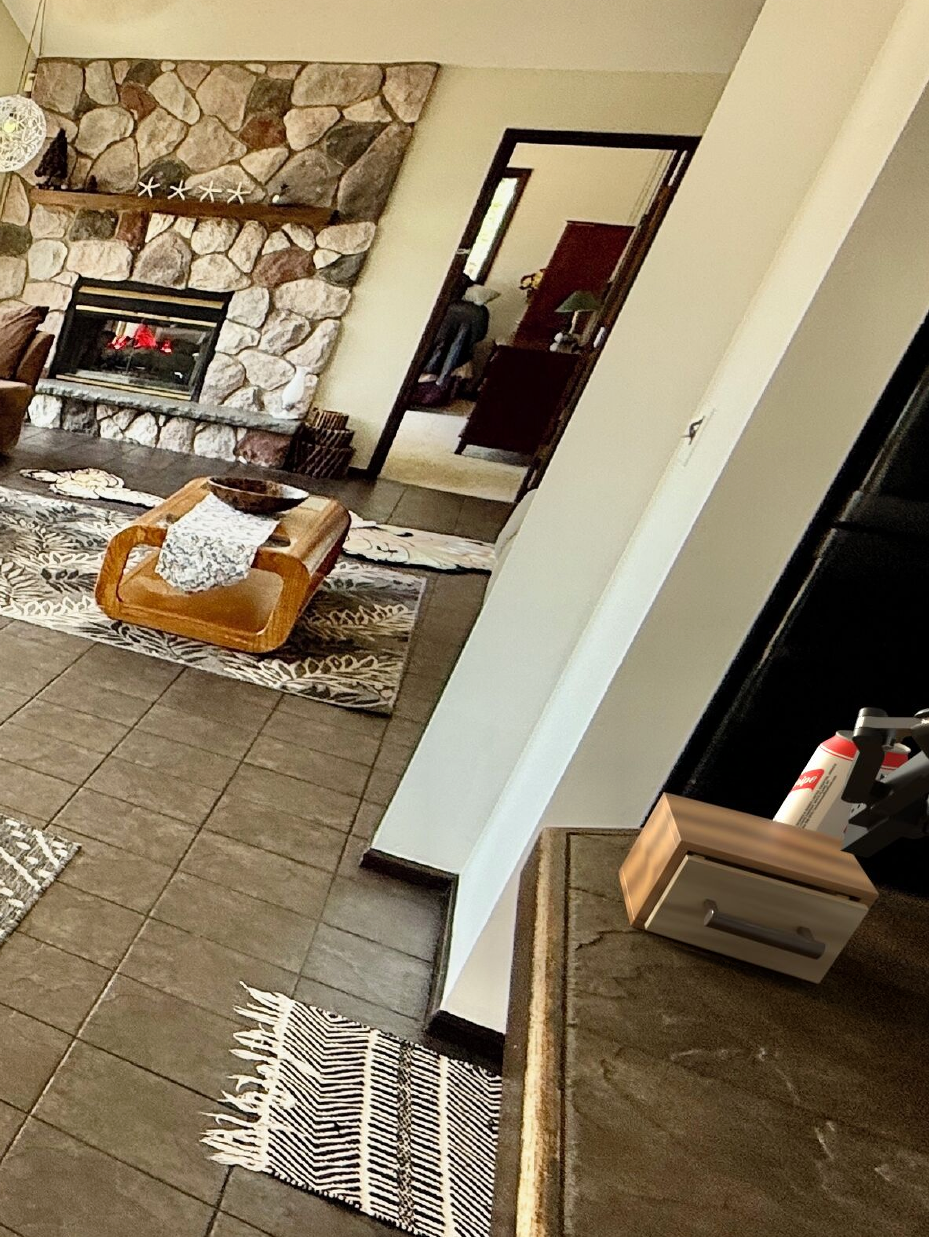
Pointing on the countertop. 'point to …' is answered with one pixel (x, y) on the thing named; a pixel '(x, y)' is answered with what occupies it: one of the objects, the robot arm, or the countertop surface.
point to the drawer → (756, 916)
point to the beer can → (830, 786)
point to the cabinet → (732, 854)
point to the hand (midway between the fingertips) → (857, 839)
